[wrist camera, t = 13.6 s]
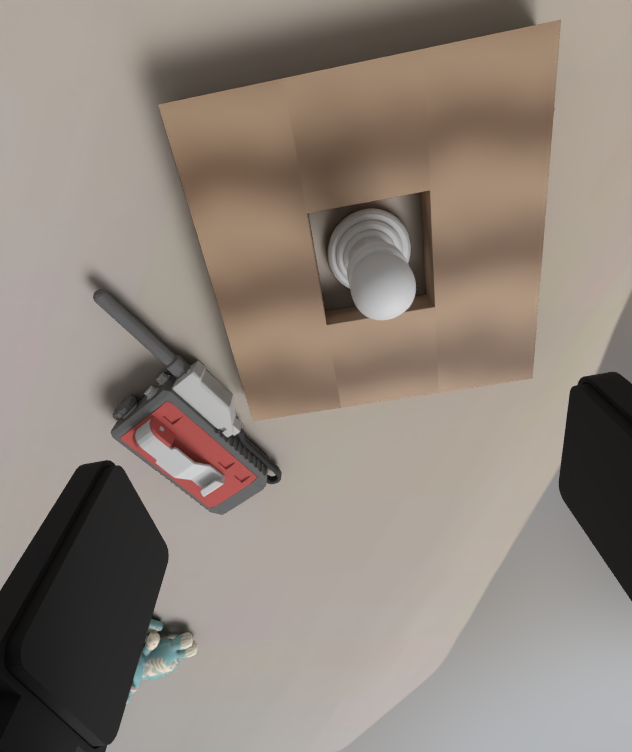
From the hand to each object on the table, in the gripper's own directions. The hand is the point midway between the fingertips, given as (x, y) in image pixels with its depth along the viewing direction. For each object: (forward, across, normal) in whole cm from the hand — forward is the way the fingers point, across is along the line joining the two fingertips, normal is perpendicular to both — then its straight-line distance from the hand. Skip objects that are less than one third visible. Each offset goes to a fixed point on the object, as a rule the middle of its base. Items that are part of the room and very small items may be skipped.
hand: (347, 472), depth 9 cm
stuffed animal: (+22, +27, +40) cm, 53 cm away
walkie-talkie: (+22, +13, +11) cm, 28 cm away
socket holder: (+22, -3, +2) cm, 22 cm away
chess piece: (+22, -3, +2) cm, 22 cm away
